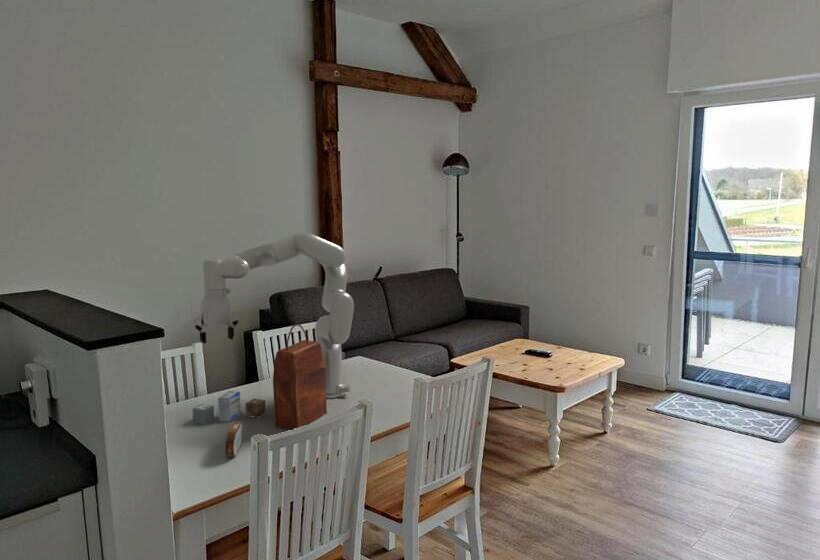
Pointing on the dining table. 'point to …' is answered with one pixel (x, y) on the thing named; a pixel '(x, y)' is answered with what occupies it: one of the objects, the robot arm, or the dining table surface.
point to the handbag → (299, 384)
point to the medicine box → (229, 406)
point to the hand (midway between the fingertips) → (217, 340)
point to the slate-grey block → (203, 413)
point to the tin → (234, 439)
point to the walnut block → (255, 407)
